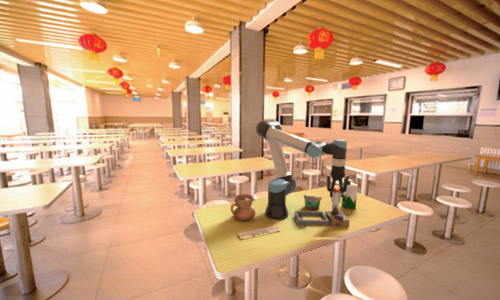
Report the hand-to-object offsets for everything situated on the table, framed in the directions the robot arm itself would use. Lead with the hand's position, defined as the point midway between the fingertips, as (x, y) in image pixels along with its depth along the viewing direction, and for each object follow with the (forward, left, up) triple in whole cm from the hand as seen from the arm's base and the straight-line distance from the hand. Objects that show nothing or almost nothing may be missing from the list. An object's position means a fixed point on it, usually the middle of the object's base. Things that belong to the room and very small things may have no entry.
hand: (335, 202), depth 130 cm
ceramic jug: (-58, +2, -13) cm, 59 cm away
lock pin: (0, 0, -7) cm, 7 cm away
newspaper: (-47, -16, -13) cm, 52 cm away
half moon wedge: (-11, +15, -13) cm, 23 cm away
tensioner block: (0, -3, -12) cm, 13 cm away
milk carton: (+17, +20, -13) cm, 30 cm away
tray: (-15, -1, -12) cm, 19 cm away
